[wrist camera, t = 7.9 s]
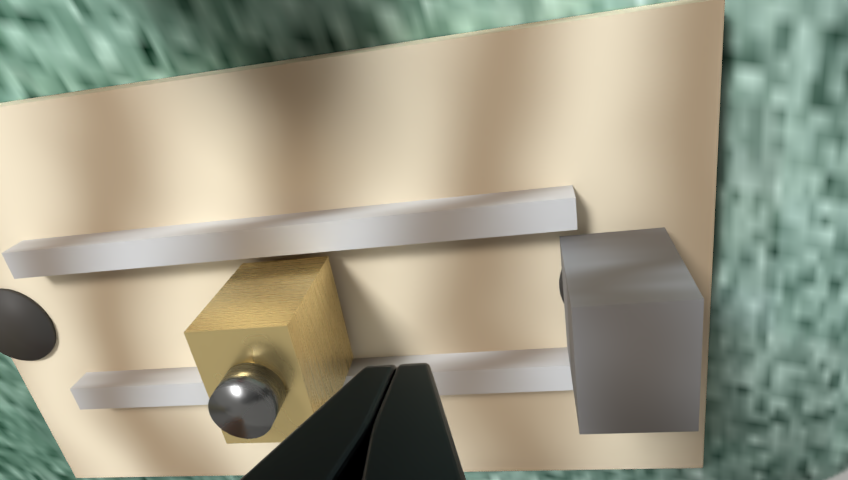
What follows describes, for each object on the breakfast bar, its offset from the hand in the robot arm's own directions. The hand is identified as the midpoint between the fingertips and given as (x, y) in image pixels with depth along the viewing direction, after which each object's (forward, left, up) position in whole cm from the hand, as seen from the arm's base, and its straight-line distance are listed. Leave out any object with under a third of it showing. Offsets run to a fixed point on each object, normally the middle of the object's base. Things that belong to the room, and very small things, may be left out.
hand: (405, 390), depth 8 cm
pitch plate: (+6, +5, -12) cm, 14 cm away
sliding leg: (+6, +5, -11) cm, 13 cm away
